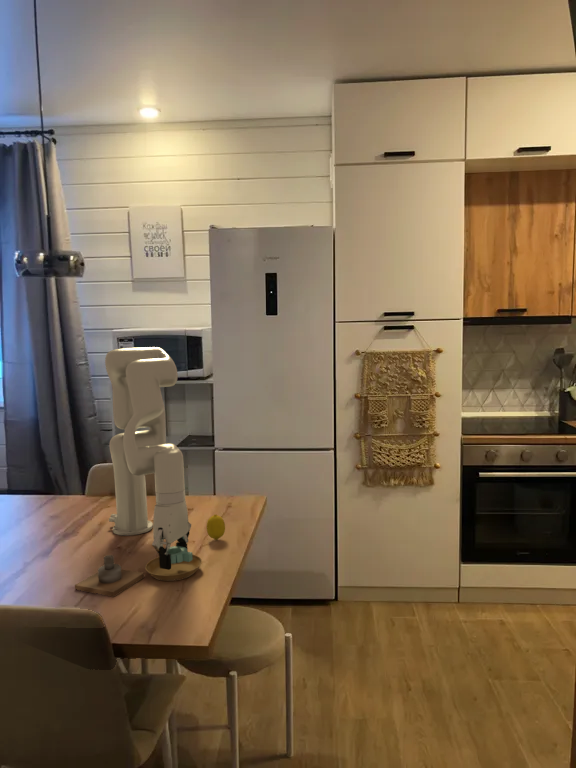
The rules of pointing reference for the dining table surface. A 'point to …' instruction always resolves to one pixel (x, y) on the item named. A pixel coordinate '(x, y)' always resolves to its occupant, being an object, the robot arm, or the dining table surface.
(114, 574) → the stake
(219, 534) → the lemon
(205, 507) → the dining table surface
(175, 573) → the plant saucer
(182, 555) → the ring
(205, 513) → the dining table surface
